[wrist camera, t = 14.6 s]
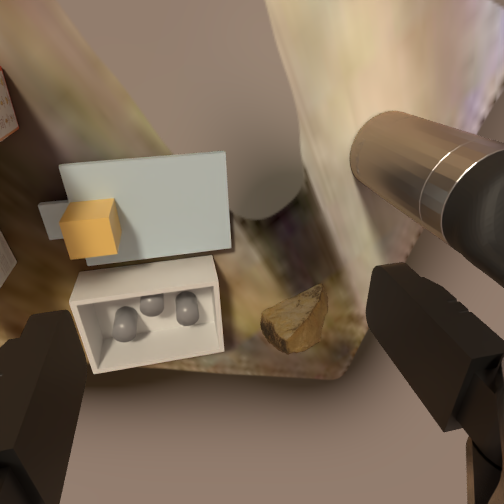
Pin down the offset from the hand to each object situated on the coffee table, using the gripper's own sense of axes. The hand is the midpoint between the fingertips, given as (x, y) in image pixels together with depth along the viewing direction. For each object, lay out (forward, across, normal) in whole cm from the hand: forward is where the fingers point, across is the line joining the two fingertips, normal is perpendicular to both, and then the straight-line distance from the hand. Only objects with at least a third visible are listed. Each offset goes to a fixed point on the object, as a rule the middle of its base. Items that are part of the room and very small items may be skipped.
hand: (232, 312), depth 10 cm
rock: (+33, -13, +28) cm, 45 cm away
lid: (+33, +5, +10) cm, 35 cm away
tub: (+33, +6, +23) cm, 41 cm away
